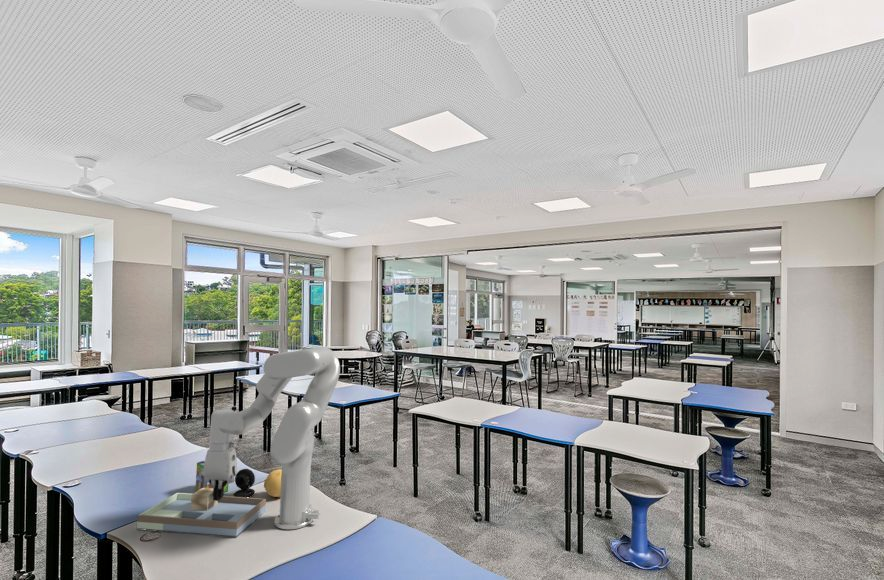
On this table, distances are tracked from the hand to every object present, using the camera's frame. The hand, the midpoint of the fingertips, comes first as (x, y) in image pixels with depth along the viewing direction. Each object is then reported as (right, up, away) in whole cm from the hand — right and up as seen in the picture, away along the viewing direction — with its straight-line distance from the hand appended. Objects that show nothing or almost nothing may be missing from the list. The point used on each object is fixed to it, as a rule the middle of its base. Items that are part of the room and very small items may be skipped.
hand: (218, 498), depth 151 cm
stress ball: (+15, -7, +16) cm, 23 cm away
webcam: (+2, -7, +16) cm, 17 cm away
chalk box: (-12, -6, +18) cm, 23 cm away
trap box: (-2, -5, -5) cm, 7 cm away
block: (-5, -3, 0) cm, 6 cm away
